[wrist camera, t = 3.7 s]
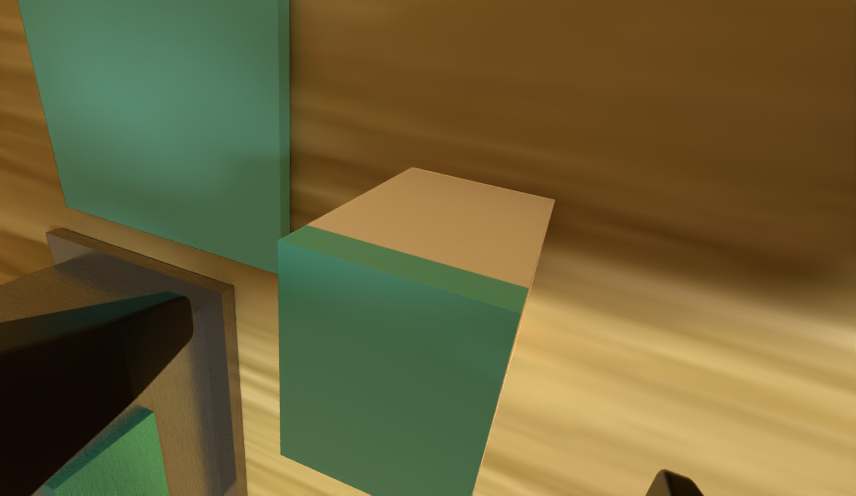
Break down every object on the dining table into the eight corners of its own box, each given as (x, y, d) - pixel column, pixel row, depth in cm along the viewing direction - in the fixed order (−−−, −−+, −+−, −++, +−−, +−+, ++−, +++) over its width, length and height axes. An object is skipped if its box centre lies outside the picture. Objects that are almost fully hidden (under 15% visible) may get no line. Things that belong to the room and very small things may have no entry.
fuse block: (555, 199, 11) (520, 313, 6) (513, 352, 13) (461, 535, 8) (412, 166, 12) (277, 240, 7) (394, 313, 14) (280, 454, 9)
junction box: (233, 286, 16) (-34, 449, 9) (248, 508, 22) (86, 714, 15) (60, 228, 19) (-259, 324, 12) (113, 442, 24) (-82, 594, 17)
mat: (289, -186, 10) (275, -198, 10) (290, 269, 15) (281, 275, 15) (-8, -189, 12) (-30, -198, 12) (79, 203, 18) (66, 206, 17)
